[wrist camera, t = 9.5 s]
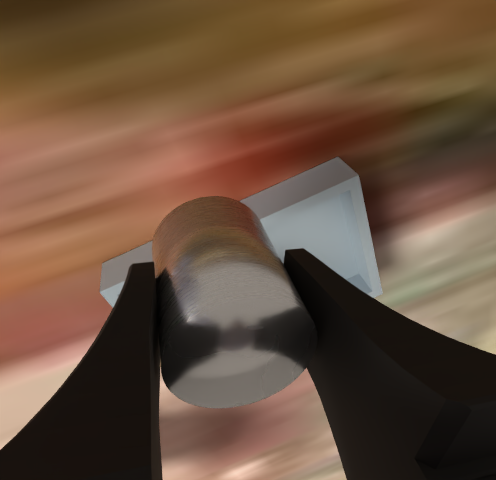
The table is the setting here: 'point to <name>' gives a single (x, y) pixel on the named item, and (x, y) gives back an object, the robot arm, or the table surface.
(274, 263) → the metal cylinder
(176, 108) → the table surface
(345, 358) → the robot arm
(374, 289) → the parts tray
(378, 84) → the table surface
